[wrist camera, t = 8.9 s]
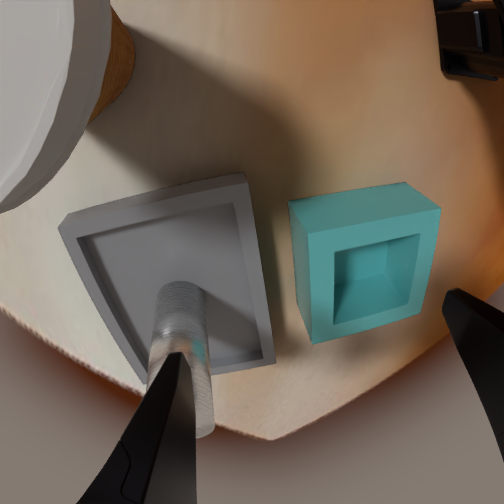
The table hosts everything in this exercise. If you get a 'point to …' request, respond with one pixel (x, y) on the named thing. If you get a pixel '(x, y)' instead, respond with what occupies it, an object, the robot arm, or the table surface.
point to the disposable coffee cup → (54, 84)
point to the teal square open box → (361, 257)
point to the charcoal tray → (177, 267)
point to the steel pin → (184, 343)
